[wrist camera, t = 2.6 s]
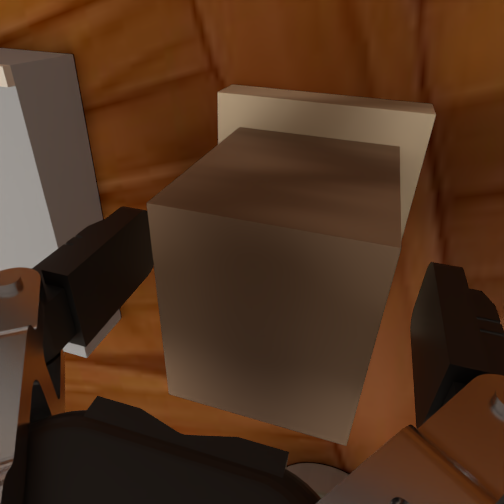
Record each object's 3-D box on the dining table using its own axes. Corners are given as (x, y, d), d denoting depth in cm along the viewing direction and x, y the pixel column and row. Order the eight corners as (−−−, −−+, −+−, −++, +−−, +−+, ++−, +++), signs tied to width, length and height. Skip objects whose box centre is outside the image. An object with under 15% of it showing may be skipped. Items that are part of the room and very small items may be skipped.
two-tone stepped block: (432, 103, 12) (465, 203, 6) (378, 303, 17) (368, 475, 11) (233, 84, 14) (106, 150, 8) (231, 272, 18) (149, 408, 12)
